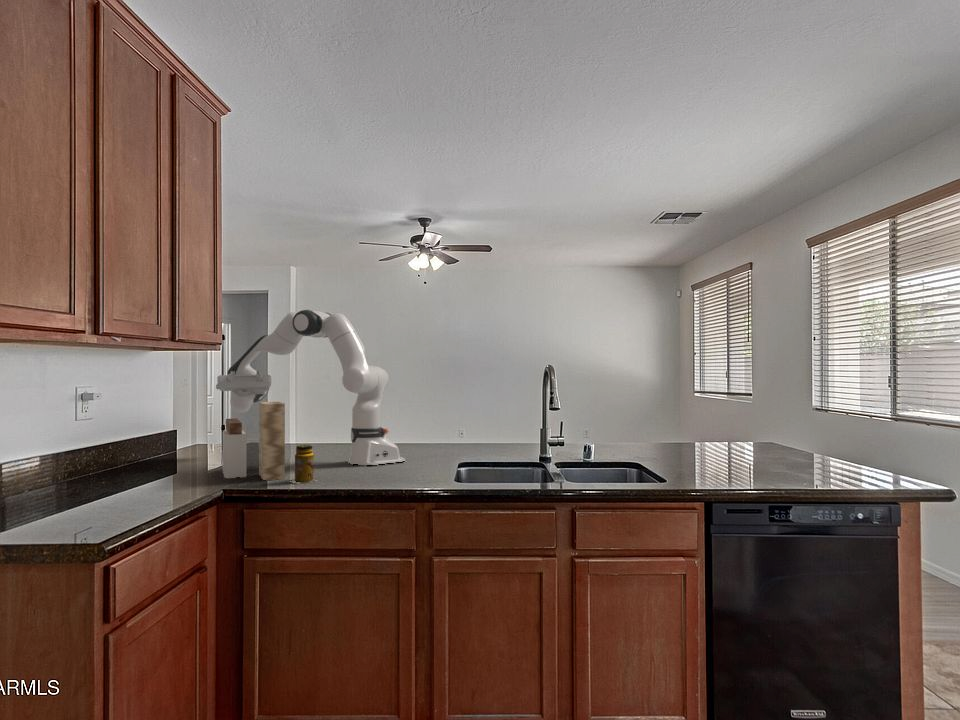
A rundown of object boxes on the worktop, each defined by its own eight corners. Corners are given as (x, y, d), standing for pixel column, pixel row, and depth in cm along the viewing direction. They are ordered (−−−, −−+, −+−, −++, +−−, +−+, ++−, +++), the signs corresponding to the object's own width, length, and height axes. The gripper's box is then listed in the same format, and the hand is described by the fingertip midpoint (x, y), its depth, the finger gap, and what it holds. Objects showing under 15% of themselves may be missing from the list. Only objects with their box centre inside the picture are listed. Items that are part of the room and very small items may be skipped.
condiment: (318, 481, 203) (318, 445, 203) (294, 484, 197) (295, 448, 197) (307, 478, 208) (308, 443, 208) (284, 481, 202) (284, 446, 202)
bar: (237, 429, 229) (237, 418, 229) (241, 434, 211) (241, 422, 211) (225, 429, 227) (225, 418, 227) (229, 435, 209) (229, 423, 209)
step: (242, 470, 224) (242, 430, 224) (246, 476, 211) (246, 434, 211) (222, 471, 221) (222, 431, 221) (224, 478, 207) (224, 435, 208)
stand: (279, 472, 218) (279, 401, 219) (284, 479, 207) (284, 403, 207) (259, 474, 215) (259, 402, 215) (263, 480, 204) (263, 404, 204)
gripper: (215, 382, 243) (216, 365, 232) (268, 382, 252) (272, 365, 241) (215, 396, 240) (217, 380, 229) (269, 395, 249) (273, 379, 238)
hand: (246, 372), depth 235 cm, fingers open, 8 cm apart
